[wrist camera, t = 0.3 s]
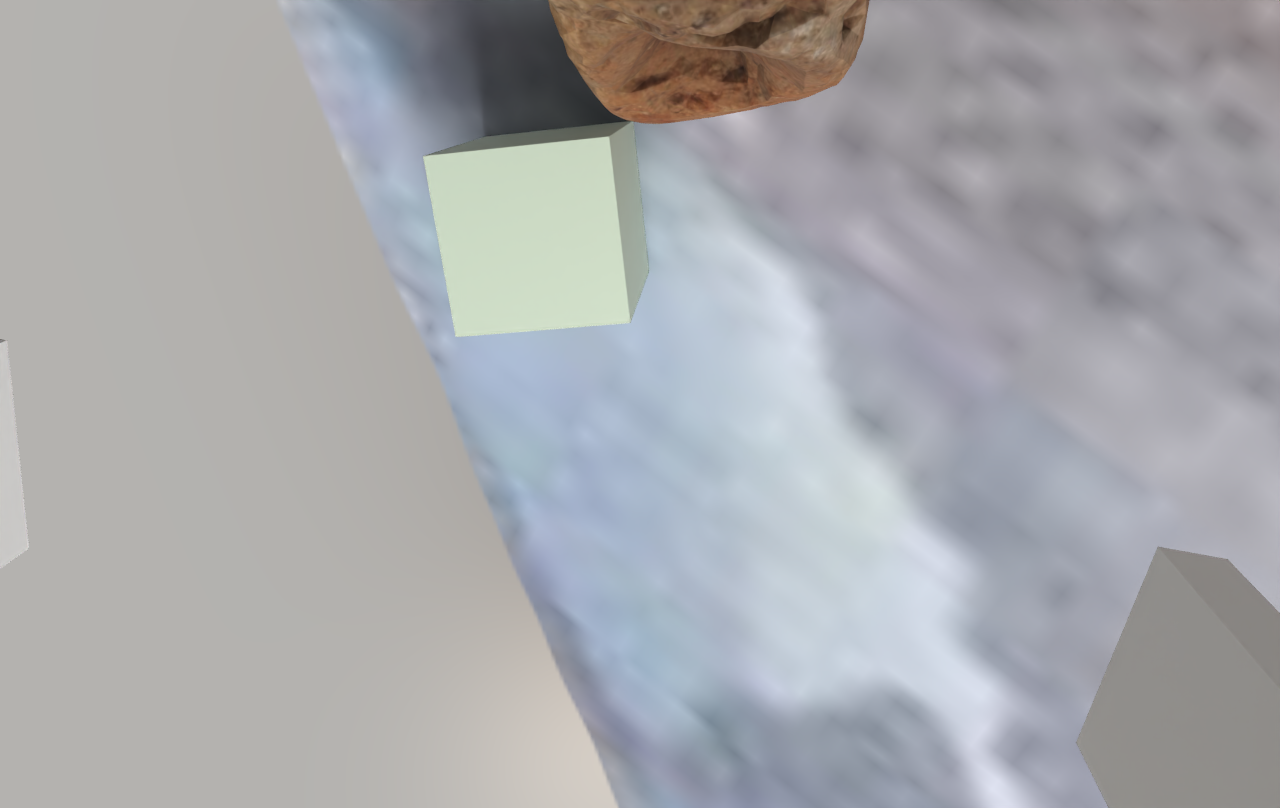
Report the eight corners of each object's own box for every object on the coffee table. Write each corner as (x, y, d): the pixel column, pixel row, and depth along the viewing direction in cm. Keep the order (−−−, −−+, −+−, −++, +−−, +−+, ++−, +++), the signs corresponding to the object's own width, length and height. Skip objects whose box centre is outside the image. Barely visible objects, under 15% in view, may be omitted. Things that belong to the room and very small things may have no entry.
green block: (484, 136, 37) (422, 156, 30) (633, 120, 36) (609, 136, 29) (507, 283, 39) (455, 337, 32) (649, 271, 38) (630, 323, 31)
